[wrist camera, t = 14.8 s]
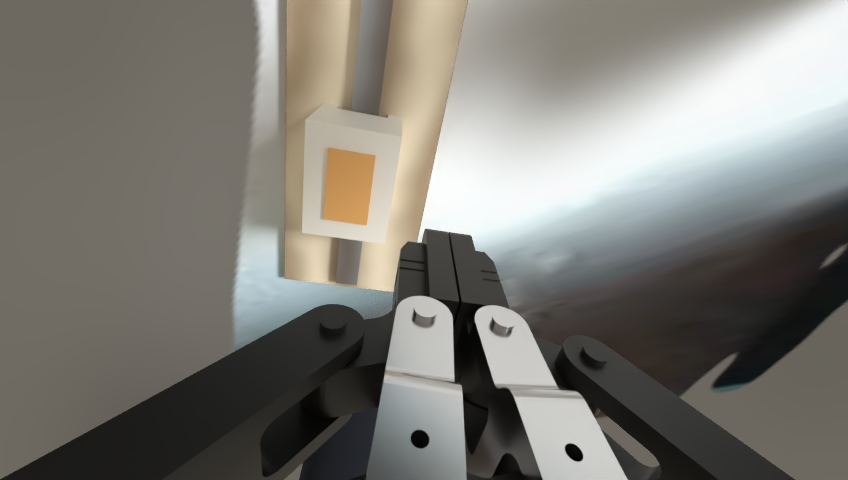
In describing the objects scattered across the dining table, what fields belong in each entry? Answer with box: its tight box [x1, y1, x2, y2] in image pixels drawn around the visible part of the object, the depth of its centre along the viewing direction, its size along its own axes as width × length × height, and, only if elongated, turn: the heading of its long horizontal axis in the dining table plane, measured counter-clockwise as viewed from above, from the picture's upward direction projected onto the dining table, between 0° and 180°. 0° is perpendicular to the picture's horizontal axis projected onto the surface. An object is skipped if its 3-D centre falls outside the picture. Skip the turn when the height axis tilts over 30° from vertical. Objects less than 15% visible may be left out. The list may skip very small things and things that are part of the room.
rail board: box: [285, 0, 468, 292], centre depth 30 cm, size 12×26×2 cm, turn 169°
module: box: [302, 103, 402, 244], centre depth 27 cm, size 6×8×6 cm
